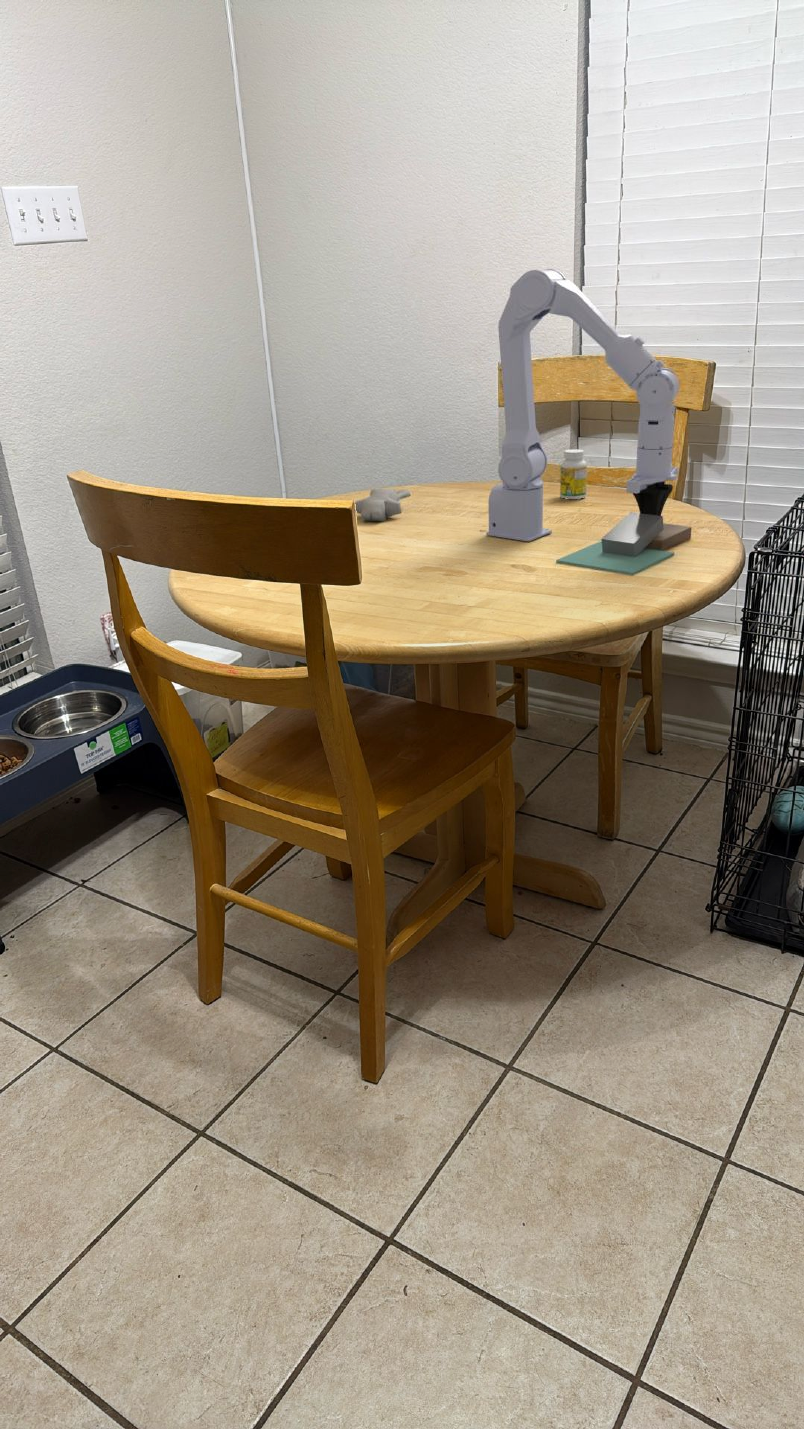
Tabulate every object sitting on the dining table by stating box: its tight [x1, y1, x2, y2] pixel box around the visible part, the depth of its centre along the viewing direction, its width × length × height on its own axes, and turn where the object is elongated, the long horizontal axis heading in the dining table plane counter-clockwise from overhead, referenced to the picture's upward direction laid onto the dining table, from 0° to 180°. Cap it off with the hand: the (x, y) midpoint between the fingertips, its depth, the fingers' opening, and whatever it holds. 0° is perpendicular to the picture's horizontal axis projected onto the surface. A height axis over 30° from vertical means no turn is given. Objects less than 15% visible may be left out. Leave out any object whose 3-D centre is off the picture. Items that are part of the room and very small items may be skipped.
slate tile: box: [600, 511, 664, 557], centre depth 163 cm, size 6×10×2 cm, turn 139°
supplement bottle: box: [559, 448, 588, 500], centre depth 202 cm, size 5×5×10 cm
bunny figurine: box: [354, 488, 412, 522], centre depth 196 cm, size 10×5×15 cm
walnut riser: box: [645, 522, 692, 551], centre depth 168 cm, size 9×11×2 cm
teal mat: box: [555, 541, 675, 576], centre depth 160 cm, size 14×14×1 cm
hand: (649, 527), depth 167 cm, fingers closed
